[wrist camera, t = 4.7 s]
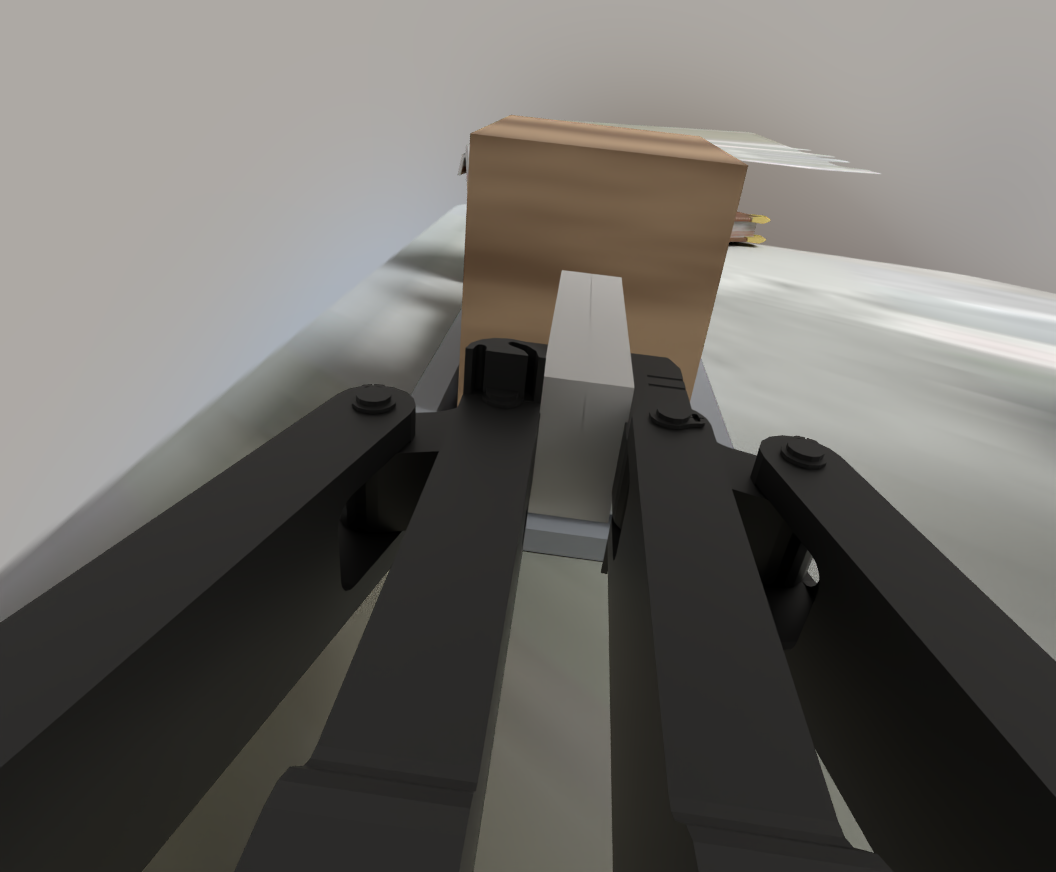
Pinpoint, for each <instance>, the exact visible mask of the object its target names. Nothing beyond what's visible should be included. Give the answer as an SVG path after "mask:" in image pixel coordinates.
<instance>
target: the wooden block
mask: <svg viewBox="0 0 1056 872" xmlns="http://www.w3.org/2000/svg"><path fill="white" fill-rule="evenodd" d="M747 167H748V165H746V164H745V163H743V162H741V161H740V160H738V159H737V158H735V157H733V156H732V155H730V154H728V153H727V152H725V151H723V150H722V149H720V148H718V147H717V146H715V145H713V144H712V143H710V142H708V141H707V140H705V139H703V138H702V137H700V136H691V135H682V134H673V133H665V132H656V131H647V130H638V129H629V128H621V127H612V126H603V125H594V124H585V123H577V122H568V121H559V120H550V119H541V118H533V117H523V116H515V115H510V116H508V117H505V118H503V119H501V120H499V121H497V122H495V123H493V124H490V125H488V126H486V127H484V128H481V129H479V130H477V131H475V132H473V133H471V134H470V151H469V172H468V193H467V214H466V235H465V256H464V277H463V298H462V318H461V339H460V360H459V381H458V402H457V407H458V405H459V402H460V400H461V397H462V395H463V385H464V366H465V348H466V347H467V346H468V345H469V344H470V343H472V342H475V341H478V340H481V339H489V338H508V339H515V340H520V341H525V342H533V343H541V344H548V343H549V337H550V332H551V327H552V321H553V316H554V310H555V305H556V299H557V294H558V288H559V283H560V277H561V272H562V270H565V271H573V272H581V273H590V274H598V275H606V276H614V277H621V278H622V286H623V295H624V303H625V312H626V320H627V328H628V337H629V345H630V353H635V354H643V355H650V356H658V357H666V358H669V359H670V360H671V361H672V362H673V363H675V364H676V365H677V366H678V367H679V368H680V369H681V373H682V376H683V381H684V383H685V387H686V391H687V394H688V397H689V401H690V400H691V396H692V392H693V388H694V384H695V380H696V376H697V372H698V367H699V363H700V359H701V355H702V351H703V347H704V343H705V339H706V335H707V331H708V327H709V323H710V319H711V315H712V311H713V306H714V302H715V298H716V294H717V290H718V286H719V282H720V278H721V274H722V270H723V266H724V262H725V258H726V254H727V250H728V245H729V241H730V237H731V233H732V229H733V225H734V221H735V217H736V213H737V208H738V205H739V201H740V196H741V193H742V189H743V184H744V180H745V176H746V172H747Z"/></svg>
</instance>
